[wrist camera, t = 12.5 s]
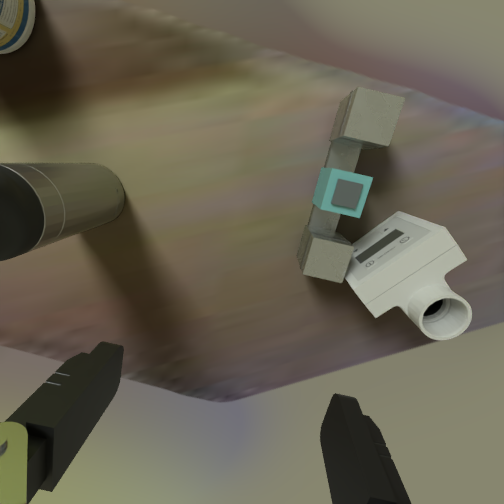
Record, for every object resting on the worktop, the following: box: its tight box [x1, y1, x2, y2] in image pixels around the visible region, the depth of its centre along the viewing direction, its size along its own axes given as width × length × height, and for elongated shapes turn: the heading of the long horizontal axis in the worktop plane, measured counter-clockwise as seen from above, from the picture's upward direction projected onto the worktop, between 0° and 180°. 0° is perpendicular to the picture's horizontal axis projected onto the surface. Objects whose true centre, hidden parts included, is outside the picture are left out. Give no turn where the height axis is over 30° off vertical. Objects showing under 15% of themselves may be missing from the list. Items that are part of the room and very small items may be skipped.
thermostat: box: [344, 211, 472, 340], centre depth 40 cm, size 12×14×15 cm
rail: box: [297, 87, 405, 283], centre depth 39 cm, size 5×22×10 cm, turn 167°
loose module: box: [312, 167, 373, 218], centre depth 39 cm, size 5×5×7 cm
